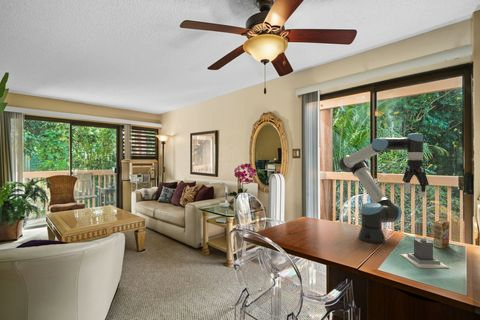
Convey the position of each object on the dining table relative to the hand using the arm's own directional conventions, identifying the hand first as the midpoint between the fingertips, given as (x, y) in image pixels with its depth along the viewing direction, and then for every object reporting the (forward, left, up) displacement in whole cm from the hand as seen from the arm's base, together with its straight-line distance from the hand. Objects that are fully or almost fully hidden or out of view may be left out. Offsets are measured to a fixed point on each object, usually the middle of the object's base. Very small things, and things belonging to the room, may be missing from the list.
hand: (414, 195), depth 137 cm
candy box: (-3, +17, -32) cm, 36 cm away
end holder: (+18, -8, -32) cm, 37 cm away
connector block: (+18, -8, -31) cm, 37 cm away
